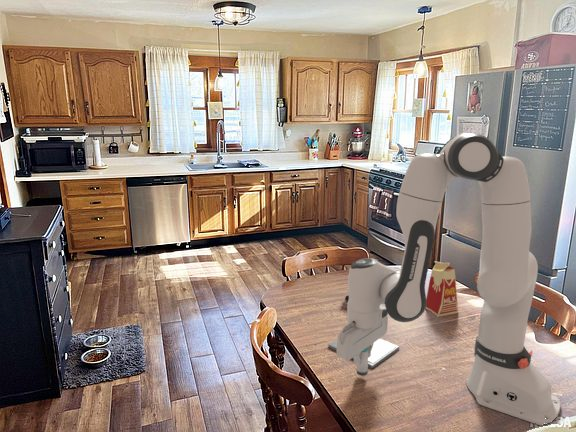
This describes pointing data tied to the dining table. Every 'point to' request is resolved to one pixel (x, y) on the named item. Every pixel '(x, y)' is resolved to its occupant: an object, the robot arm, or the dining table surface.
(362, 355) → the glue stick
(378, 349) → the clipboard
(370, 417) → the dining table surface
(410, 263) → the robot arm
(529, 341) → the dining table surface
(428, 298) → the milk carton
